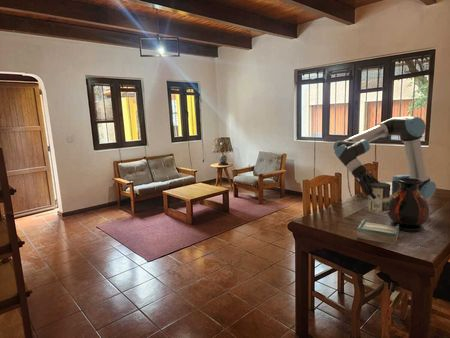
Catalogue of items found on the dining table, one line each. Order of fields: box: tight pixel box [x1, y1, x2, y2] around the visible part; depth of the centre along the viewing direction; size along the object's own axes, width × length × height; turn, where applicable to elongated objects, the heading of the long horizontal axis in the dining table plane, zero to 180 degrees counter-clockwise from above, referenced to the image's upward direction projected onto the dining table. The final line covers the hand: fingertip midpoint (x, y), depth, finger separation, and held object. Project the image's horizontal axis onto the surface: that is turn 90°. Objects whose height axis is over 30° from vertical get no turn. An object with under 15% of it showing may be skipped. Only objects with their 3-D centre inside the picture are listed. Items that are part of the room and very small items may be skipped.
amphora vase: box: [386, 178, 431, 233], centre depth 169 cm, size 22×22×28 cm
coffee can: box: [367, 182, 392, 214], centre depth 158 cm, size 10×10×14 cm
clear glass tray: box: [356, 219, 400, 245], centre depth 161 cm, size 16×18×6 cm
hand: (384, 201), depth 156 cm, fingers closed on coffee can, 10 cm apart
